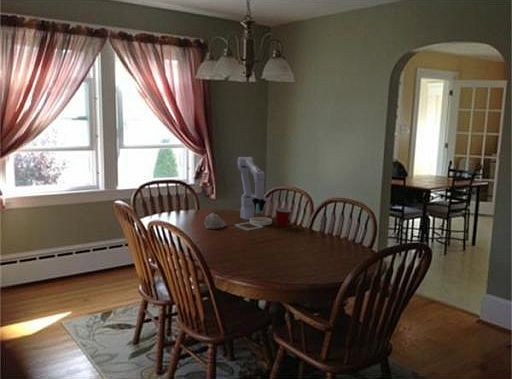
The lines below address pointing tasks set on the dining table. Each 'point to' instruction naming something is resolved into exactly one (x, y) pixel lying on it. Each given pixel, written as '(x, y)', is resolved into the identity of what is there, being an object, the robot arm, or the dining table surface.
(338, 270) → the dining table surface
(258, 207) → the cylinder
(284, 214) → the plastic cup
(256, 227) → the tray
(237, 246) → the dining table surface
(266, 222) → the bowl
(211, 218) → the seashell
